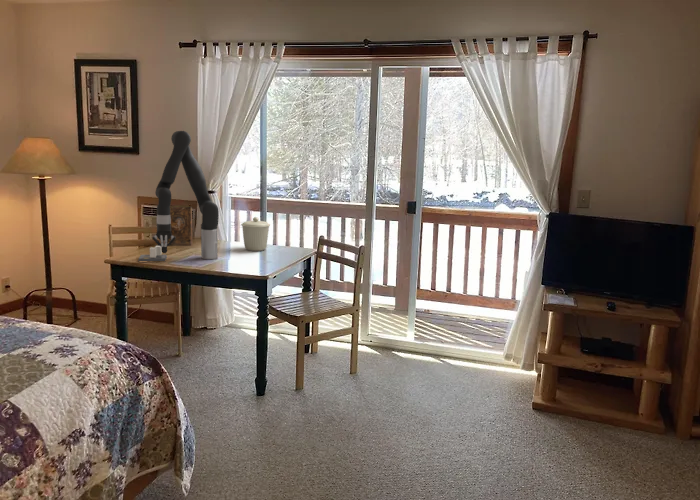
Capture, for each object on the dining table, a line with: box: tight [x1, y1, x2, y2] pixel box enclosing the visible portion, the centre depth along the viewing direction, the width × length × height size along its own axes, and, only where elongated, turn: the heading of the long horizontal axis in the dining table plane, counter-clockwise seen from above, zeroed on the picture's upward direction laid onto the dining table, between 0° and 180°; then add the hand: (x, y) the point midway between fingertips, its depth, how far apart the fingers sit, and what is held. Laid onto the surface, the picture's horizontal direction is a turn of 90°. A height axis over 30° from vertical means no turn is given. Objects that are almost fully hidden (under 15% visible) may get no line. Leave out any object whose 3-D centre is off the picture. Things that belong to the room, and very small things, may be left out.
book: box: [167, 205, 193, 247], centre depth 360 cm, size 16×6×25 cm, turn 105°
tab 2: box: [154, 245, 163, 255], centre depth 319 cm, size 3×4×5 cm
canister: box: [240, 216, 271, 252], centre depth 356 cm, size 18×18×21 cm
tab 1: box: [149, 247, 156, 258], centre depth 314 cm, size 3×4×5 cm
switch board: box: [138, 254, 168, 262], centre depth 317 cm, size 14×10×2 cm
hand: (164, 253), depth 315 cm, fingers closed
